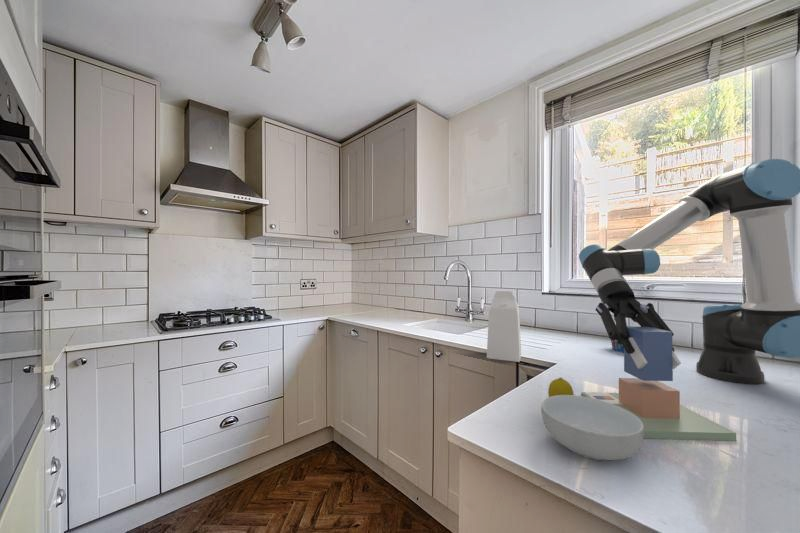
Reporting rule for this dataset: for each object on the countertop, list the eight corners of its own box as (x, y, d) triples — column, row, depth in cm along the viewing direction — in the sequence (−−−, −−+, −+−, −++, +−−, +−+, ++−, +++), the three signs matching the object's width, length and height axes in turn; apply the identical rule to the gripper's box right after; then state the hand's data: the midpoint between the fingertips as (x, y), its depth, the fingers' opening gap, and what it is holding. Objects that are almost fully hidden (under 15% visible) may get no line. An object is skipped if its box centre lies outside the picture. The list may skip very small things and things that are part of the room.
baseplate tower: (658, 399, 82) (658, 370, 83) (736, 440, 63) (735, 403, 63) (581, 397, 83) (581, 369, 84) (633, 438, 63) (633, 401, 64)
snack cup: (612, 345, 142) (612, 323, 142) (641, 349, 134) (641, 326, 134) (603, 351, 131) (603, 327, 131) (634, 356, 123) (634, 331, 123)
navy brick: (651, 371, 76) (650, 326, 76) (672, 381, 70) (672, 332, 70) (624, 371, 76) (623, 326, 77) (643, 380, 70) (642, 331, 70)
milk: (521, 354, 127) (520, 290, 127) (519, 361, 116) (519, 292, 116) (490, 351, 132) (490, 289, 132) (486, 358, 121) (486, 291, 121)
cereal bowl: (603, 488, 49) (603, 443, 49) (523, 436, 64) (523, 402, 64) (665, 461, 56) (665, 422, 56) (579, 420, 71) (579, 389, 71)
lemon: (543, 408, 77) (543, 375, 77) (559, 404, 80) (559, 372, 80) (562, 417, 72) (562, 383, 72) (579, 413, 74) (579, 379, 75)
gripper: (641, 297, 88) (693, 374, 72) (571, 297, 89) (607, 373, 73) (656, 279, 83) (715, 357, 66) (581, 279, 84) (622, 356, 67)
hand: (659, 365), depth 70 cm, fingers closed on navy brick, 6 cm apart
